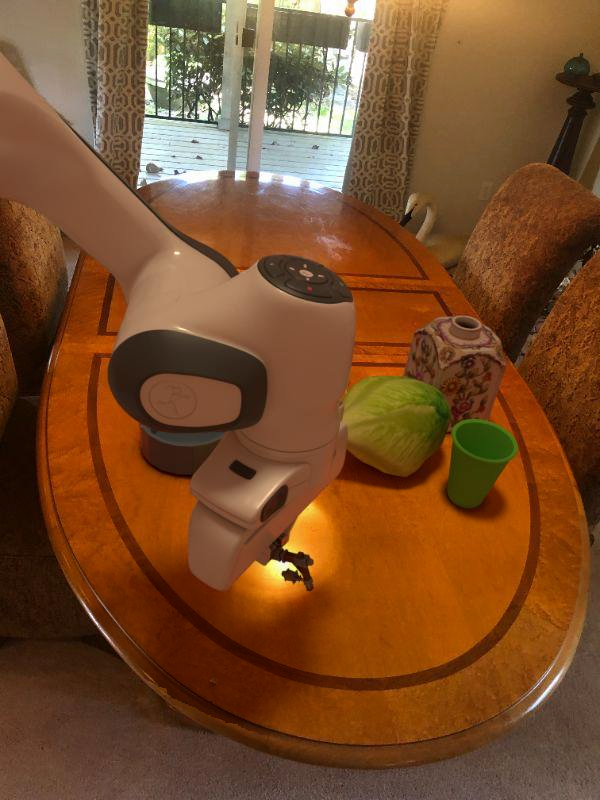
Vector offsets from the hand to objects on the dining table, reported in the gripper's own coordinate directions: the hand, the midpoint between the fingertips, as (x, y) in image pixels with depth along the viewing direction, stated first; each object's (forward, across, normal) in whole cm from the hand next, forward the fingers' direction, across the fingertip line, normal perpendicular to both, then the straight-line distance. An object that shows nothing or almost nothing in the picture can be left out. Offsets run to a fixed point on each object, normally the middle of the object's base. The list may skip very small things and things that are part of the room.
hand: (270, 550), depth 61 cm
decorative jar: (+14, -53, -1) cm, 55 cm away
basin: (+14, -19, -28) cm, 36 cm away
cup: (+14, -36, +10) cm, 40 cm away
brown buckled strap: (+2, 0, +1) cm, 3 cm away
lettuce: (+14, -36, -4) cm, 39 cm away
